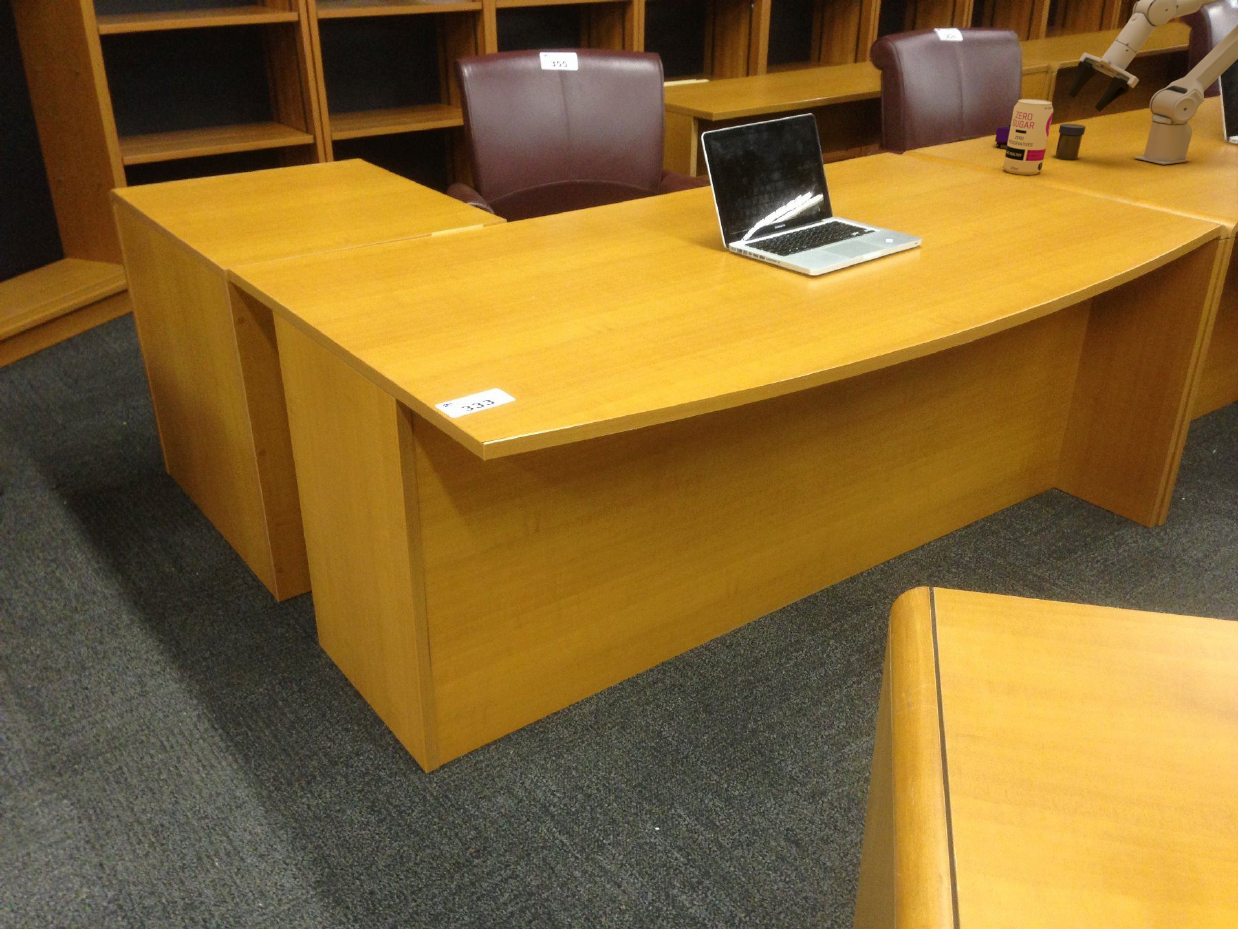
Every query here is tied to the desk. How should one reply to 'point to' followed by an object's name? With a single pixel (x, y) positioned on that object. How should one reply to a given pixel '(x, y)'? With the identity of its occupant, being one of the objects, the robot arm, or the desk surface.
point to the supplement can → (1028, 136)
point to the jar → (1068, 147)
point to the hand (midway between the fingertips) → (1084, 102)
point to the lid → (1072, 129)
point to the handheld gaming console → (1002, 136)
